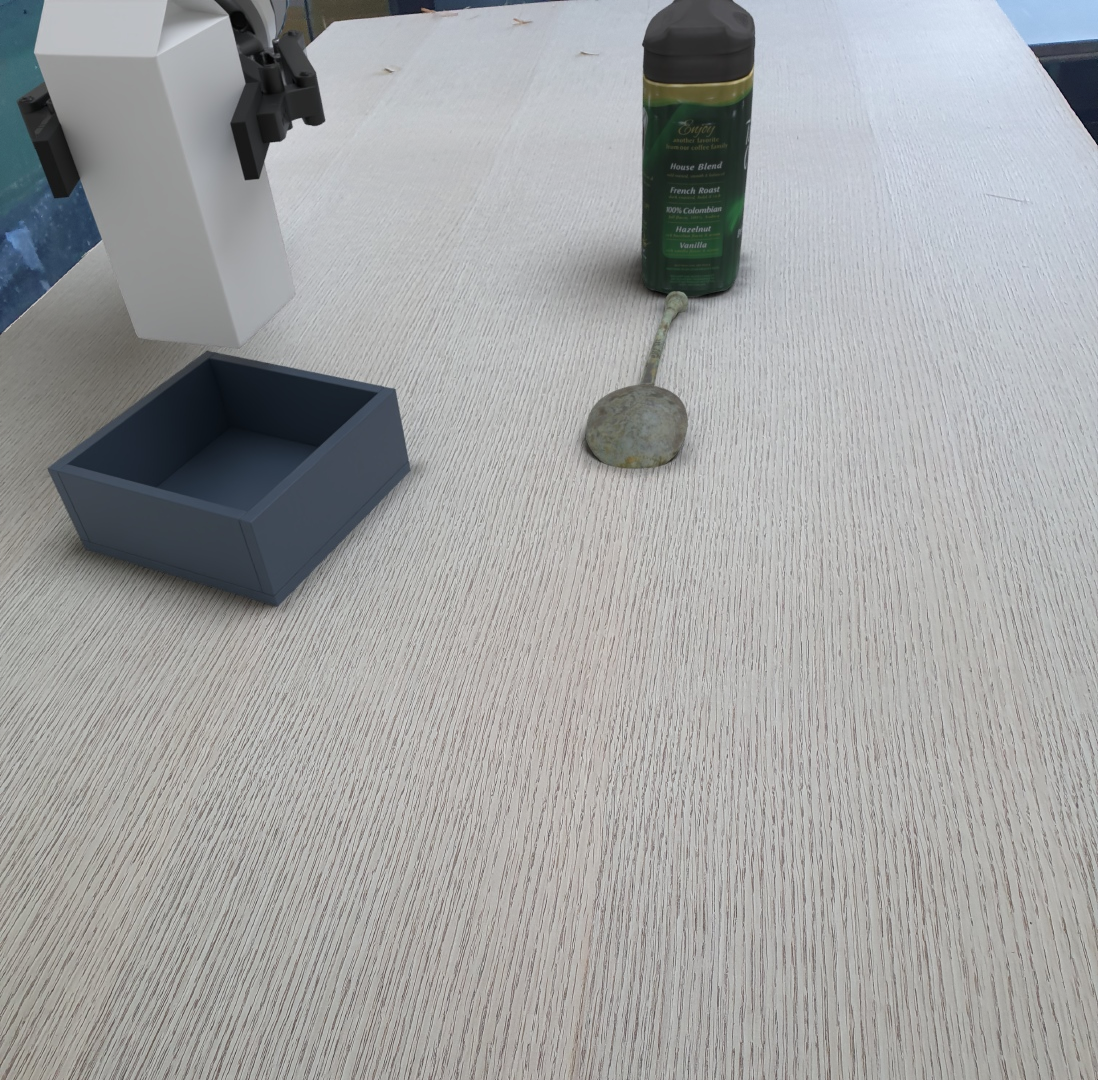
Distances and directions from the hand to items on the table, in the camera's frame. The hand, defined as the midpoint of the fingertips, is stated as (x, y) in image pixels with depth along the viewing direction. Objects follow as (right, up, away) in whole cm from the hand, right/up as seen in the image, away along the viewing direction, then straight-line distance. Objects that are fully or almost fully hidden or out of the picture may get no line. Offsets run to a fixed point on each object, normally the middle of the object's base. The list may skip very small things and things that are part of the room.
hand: (148, 160), depth 54 cm
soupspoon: (+28, -5, +21) cm, 35 cm away
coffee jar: (+32, +8, +32) cm, 46 cm away
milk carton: (0, -4, +11) cm, 12 cm away
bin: (+2, -15, +13) cm, 20 cm away
